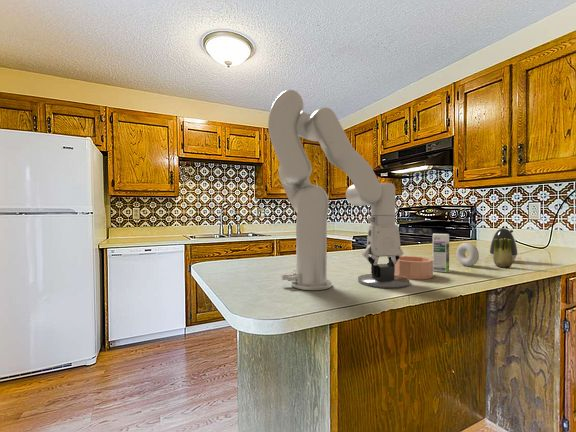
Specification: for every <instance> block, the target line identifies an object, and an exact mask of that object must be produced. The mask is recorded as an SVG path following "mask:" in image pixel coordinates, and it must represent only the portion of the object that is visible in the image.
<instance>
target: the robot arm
mask: <svg viewBox="0 0 576 432" xmlns="http://www.w3.org/2000/svg"><path fill="white" fill-rule="evenodd" d="M304 108H305V107H304V101H303V97H302V96H301V94H300V93H299V92H298V91H296V90H295V89H287V90H285V91H282V92H280V94H278V96H277V98H275V101H273V103H272V106H271V108H270V111H269V115H268V122H267V124H268V125H267V126H268V129H267V130H268V135H269V138H270V143H271V145H272V148H273V150H274V152H275V155H276V158H277V160H278V163H279V166H278V178H279V180H280V183H281V185H282V188H283V190H284V192H285V194H286V197H287V199H288V201H289V203H290V205H291V207H292V209H293V210H294V211H295V212H296V222H295V223H296V224H295V225H296V226H295V237H296V240H295V241H296V242H295V243H296V244H295V245H296V246H295V247H296V249H295V251H296V254H295V255H296V257H295V259H296V260H295V262H296V265H295V266H296V267H295V268H296V269H293V272H291V273H282V274H281V277H280V279H281V280H282V281H287V282H291V287H293V288H294V289H298V290H302V291H303V290H304V291H322V290H328V289H329V288H331V287H332V285H333V283H332V281H331V280H329V279H327V278H328V276H327V271H328V270H327V268H328V267H327V266H328V265H327V261H328V260H327V259H328V258H327V257H328V255H327V249H328V248H327V246H328V245H327V244H328V243H327V241H328V240H327V238H328V237H327V236H328V235H327V232H328V231H327V223H328V212H329V206H330V205H329V196H328V194H327V193H328V192H326V190H325V189H324V188H323V187H322V186H320V185H319V184H312V183H311V180H310V176H311V175H312V172H313V169H312V164H311V161H310V159H309V157H308V155H307V151H306V150H305V149H304V146H303V143H302V142H301V139H300V138H302V139H304V140H308V141H311V142H318V143H319V145H320V147H321V149H322V151H323V153H324V155H325V157H326V160H327V161H328V162H329V163H330V164H332V165H333V166H334V167H337V168H339V169H340V170H341V171H343V172H344V173H345V174H346V176H348V178H349V179H350V182H352V184H351V185H350V186H349V187H348V188H347V189H346V191H345V198H346V201H347V202H348V204H351V205H352V206H355V207H359V206H360V207H363V206H370V217H368V218H367V221H368V222H369V223H370V225H369V227H368V231H367V237H366V248H365V249H364V250H363V252H362V253H361V255H362V257H363V258H364V259H366V261H368V263H369V264H370V265H371V266H370V267H371V268H370V269H371V271H370V274H372V276H374V277H376V278H378V277H379V265H377V264H379V263H378V262H379V258H380V257H382V258H383V257H386V259H387V261H388V262H387V263H386V264H388V265H391V266H394V273H395V264H396V263H397V261H398V259H399V257H401V256H404V251H403V250H402V248H401V237H400V229H399V226H398V225H396V186H395V184H394V183H392V182H380V181H379V178H378V177H377V175H376V173H375V172H374V170H373V168H372V166H371V164H369V162H368V161H367V160H365V158H364V157H363V156H362V155H361V154H360V153H359V152H358V151H357V150H355V149H354V148H353V145H352V143H351V141H350V140H349V138H348V136H347V134H346V132H345V130H344V127H343V126H342V124H341V122H340V121H339V118H338V117H337V115H336V113H335V112H334V111H333V109H331V108H329V107H327V106H326V107H325V106H324V107H320V108H318V109H317V110H314V112H313V113H312V114H310V113H307V112H305V111H304Z"/></svg>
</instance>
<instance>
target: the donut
mask: <svg viewBox="0 0 576 432" xmlns="http://www.w3.org/2000/svg"><path fill="white" fill-rule="evenodd" d="M466 252H468V254H469V255H468V257H467V256H466ZM455 255H456V256H455V257H456V259H457V261H458V262H459V263H460V264H461V265H463V266H465V267H473V266H475V265H476V264H477V263H478V261H479V257H480V254H479V250H478V248H477V247H476V245H474V244H472V243H470V242H463V243H460V244H459V245H458V246H457V248H456V253H455Z"/></svg>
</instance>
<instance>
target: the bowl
mask: <svg viewBox="0 0 576 432" xmlns="http://www.w3.org/2000/svg"><path fill="white" fill-rule="evenodd" d="M394 275H396V276H400V277H404V278H406V279H408V280H418V281H419V280H421V281H422V280H429V279H432V278H433V275H434V271H433V258H428V257H425V256H423V257H422V256H415V255H414V256H413V255H411V256H410V255H402V256H401V257H399V259H398V261H397V263H396V264H395V273H394Z"/></svg>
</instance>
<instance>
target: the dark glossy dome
mask: <svg viewBox="0 0 576 432" xmlns="http://www.w3.org/2000/svg"><path fill="white" fill-rule="evenodd" d="M513 232H514V230H513V229H511V230H509V229H508V228H499V229H497V231H495V233H494V235H493V237H492V240H491V243H490V246H489V247H490V248H489V253H490V255H491V258H492V259H493V260H494V257H493V254H494V239H497V240H498V248H499V239H503V244H504V238H506V239H507V240H508V239H510V240H512V242H511V252H512V259H513V261H515V260H516V258H517V255H518V247H517V243H516V240H515V237H514V235H513ZM502 248H503V247H502Z"/></svg>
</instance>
